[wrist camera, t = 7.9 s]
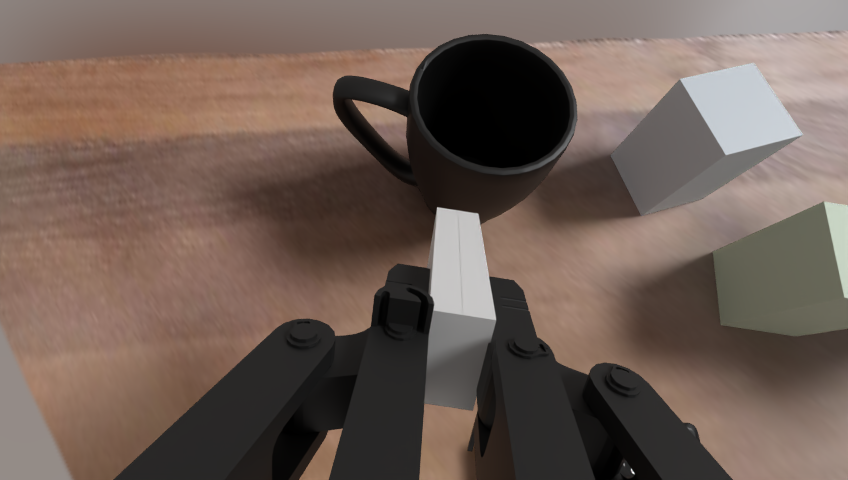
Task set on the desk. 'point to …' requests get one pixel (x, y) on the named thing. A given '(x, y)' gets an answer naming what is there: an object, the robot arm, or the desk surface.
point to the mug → (471, 122)
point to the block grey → (702, 137)
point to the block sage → (788, 275)
